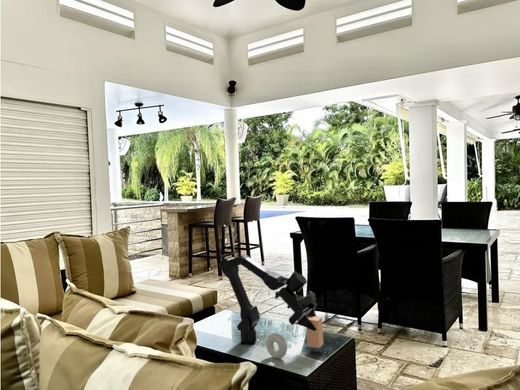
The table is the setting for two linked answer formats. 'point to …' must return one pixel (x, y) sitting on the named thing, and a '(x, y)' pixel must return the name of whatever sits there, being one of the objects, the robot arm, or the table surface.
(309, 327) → the robot arm
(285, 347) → the donut
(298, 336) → the table surface
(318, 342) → the post
